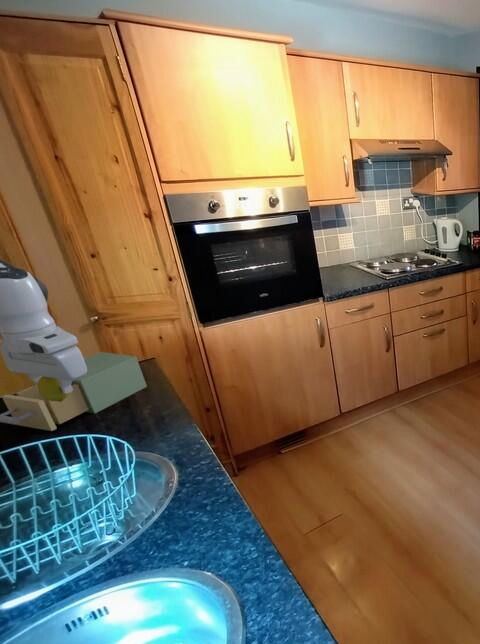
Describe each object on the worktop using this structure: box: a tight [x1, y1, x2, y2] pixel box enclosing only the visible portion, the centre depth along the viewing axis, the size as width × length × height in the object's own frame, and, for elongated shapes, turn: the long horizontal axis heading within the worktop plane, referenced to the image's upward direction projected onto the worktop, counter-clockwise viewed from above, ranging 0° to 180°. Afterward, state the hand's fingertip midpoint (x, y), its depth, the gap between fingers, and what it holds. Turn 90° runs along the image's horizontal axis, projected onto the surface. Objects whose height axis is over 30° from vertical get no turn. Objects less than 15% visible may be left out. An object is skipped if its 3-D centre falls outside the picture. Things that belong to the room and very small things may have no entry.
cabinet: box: [72, 351, 148, 414], centre depth 133 cm, size 16×14×11 cm
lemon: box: [38, 377, 71, 402], centre depth 109 cm, size 6×6×8 cm
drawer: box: [0, 382, 91, 432], centre depth 122 cm, size 20×12×9 cm, turn 167°
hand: (56, 390), depth 109 cm, fingers closed on lemon, 5 cm apart
